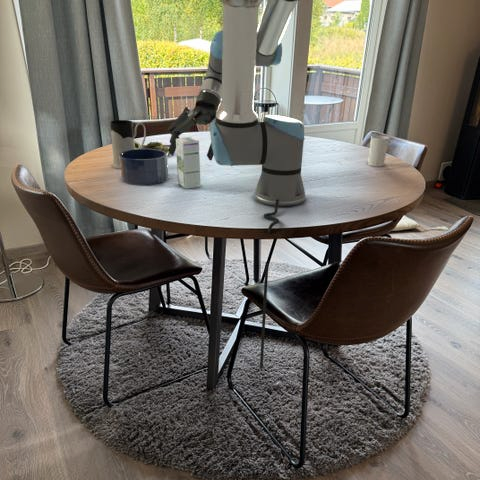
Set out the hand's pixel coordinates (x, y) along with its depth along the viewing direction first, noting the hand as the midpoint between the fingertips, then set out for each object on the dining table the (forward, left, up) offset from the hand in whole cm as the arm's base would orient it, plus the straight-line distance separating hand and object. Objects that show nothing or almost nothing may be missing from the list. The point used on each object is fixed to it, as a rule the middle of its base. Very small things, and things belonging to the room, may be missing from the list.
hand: (189, 155), depth 156 cm
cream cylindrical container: (+29, -70, -9) cm, 76 cm away
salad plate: (+42, +18, -9) cm, 47 cm away
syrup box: (-1, 0, -9) cm, 10 cm away
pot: (+7, +16, -9) cm, 19 cm away
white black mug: (+25, +22, -9) cm, 35 cm away
